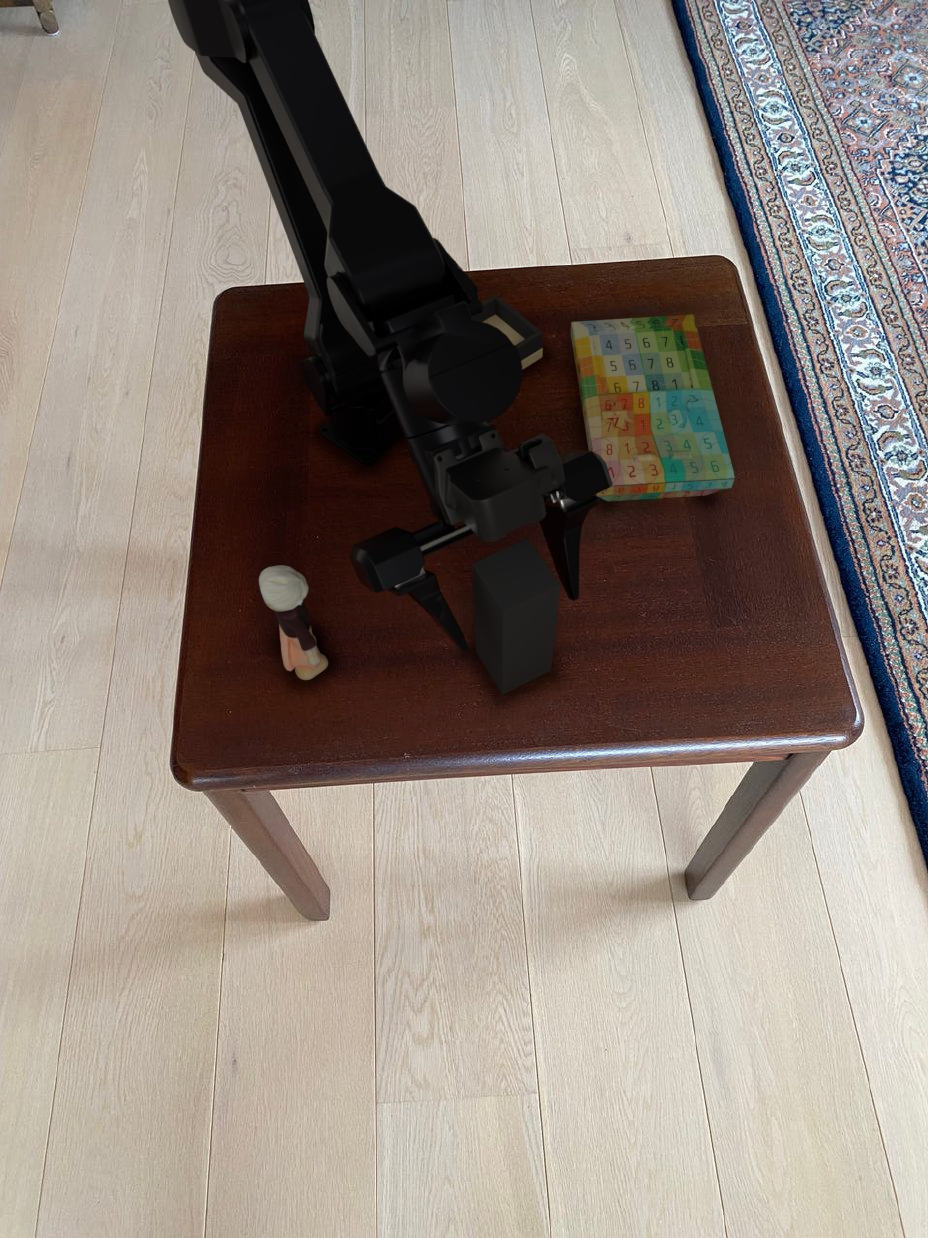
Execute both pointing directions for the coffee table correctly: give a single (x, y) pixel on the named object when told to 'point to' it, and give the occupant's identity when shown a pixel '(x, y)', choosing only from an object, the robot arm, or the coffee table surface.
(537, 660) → the pad block
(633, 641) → the coffee table surface
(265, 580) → the grandmother figurine
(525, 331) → the base pad
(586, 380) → the puzzle game
